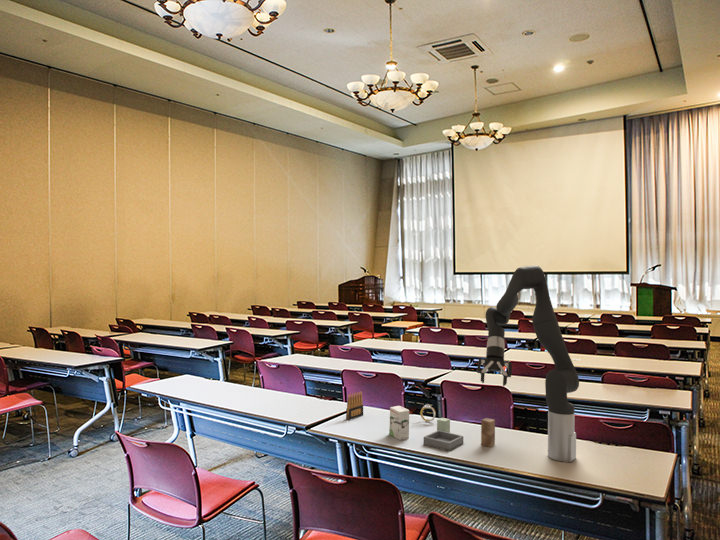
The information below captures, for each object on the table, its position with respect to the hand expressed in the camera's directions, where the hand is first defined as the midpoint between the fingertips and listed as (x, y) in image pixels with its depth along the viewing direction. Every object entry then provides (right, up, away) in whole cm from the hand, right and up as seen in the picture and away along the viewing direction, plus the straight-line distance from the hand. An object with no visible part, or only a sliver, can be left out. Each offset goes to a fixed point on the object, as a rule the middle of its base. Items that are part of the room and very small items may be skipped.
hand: (493, 383), depth 211 cm
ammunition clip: (-59, -22, +27) cm, 68 cm away
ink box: (-40, -22, 0) cm, 46 cm away
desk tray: (-23, -22, -9) cm, 33 cm away
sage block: (-20, -22, +5) cm, 31 cm away
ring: (-25, -23, +21) cm, 40 cm away
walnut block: (-5, -22, -9) cm, 25 cm away
